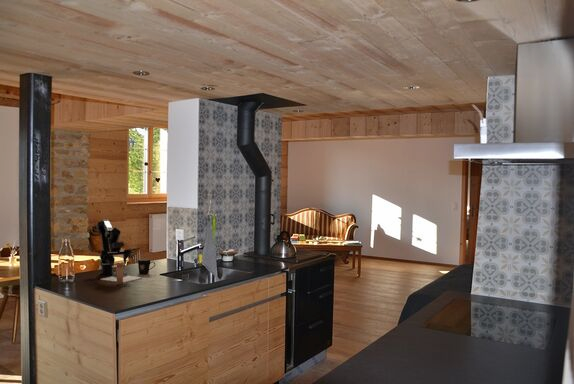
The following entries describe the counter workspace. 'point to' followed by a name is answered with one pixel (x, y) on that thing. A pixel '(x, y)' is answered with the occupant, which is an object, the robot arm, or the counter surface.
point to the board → (125, 278)
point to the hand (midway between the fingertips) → (117, 264)
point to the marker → (120, 273)
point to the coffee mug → (144, 266)
